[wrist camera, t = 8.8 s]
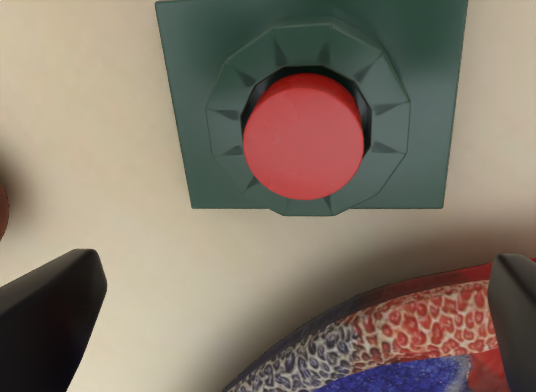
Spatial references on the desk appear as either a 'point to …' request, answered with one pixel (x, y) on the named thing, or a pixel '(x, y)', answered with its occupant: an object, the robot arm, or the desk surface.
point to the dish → (391, 342)
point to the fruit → (3, 211)
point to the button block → (325, 63)
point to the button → (304, 137)
